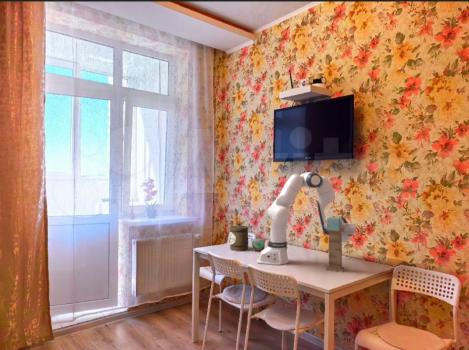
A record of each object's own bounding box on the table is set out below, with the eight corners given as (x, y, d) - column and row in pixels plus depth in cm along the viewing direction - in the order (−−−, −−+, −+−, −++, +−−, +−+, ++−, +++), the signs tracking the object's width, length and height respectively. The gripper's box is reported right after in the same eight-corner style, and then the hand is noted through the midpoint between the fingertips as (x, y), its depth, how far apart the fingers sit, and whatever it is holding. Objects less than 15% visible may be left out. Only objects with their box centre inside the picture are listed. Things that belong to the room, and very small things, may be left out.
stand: (328, 267, 214) (328, 227, 215) (344, 269, 210) (344, 228, 210) (326, 269, 208) (326, 228, 208) (342, 271, 204) (342, 229, 204)
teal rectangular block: (333, 224, 222) (333, 214, 222) (344, 225, 219) (344, 214, 218) (327, 230, 204) (326, 218, 204) (338, 230, 201) (338, 219, 201)
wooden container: (229, 247, 276) (229, 221, 276) (247, 246, 277) (246, 220, 277) (231, 251, 261) (230, 223, 261) (249, 250, 262) (249, 223, 262)
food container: (253, 252, 256) (253, 239, 256) (251, 251, 262) (250, 238, 262) (268, 251, 259) (268, 238, 259) (265, 250, 265) (265, 237, 265)
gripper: (326, 224, 234) (322, 217, 223) (357, 227, 224) (354, 218, 213) (325, 233, 231) (321, 225, 220) (356, 235, 221) (353, 228, 211)
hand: (337, 222), depth 217 cm, fingers closed on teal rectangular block, 3 cm apart
